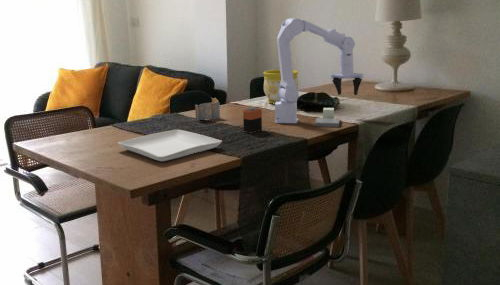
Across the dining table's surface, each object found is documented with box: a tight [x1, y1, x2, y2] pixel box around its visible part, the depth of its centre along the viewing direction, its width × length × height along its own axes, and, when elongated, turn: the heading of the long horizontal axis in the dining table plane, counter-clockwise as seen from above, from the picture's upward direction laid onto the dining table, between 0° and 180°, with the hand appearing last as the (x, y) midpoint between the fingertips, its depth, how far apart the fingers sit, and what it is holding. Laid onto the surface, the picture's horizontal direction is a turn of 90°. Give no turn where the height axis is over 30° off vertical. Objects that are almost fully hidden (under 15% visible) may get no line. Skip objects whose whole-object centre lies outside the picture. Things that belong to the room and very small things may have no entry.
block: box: [322, 107, 335, 118], centre depth 226 cm, size 4×4×5 cm
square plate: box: [117, 129, 223, 162], centre depth 182 cm, size 27×27×4 cm
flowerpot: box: [262, 69, 299, 105], centre depth 267 cm, size 18×18×16 cm
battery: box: [242, 106, 263, 132], centre depth 206 cm, size 4×7×10 cm, turn 136°
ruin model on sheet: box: [194, 97, 221, 121], centre depth 231 cm, size 11×3×10 cm, turn 126°
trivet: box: [314, 117, 341, 128], centre depth 217 cm, size 10×10×2 cm
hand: (347, 94), depth 228 cm, fingers open, 7 cm apart
